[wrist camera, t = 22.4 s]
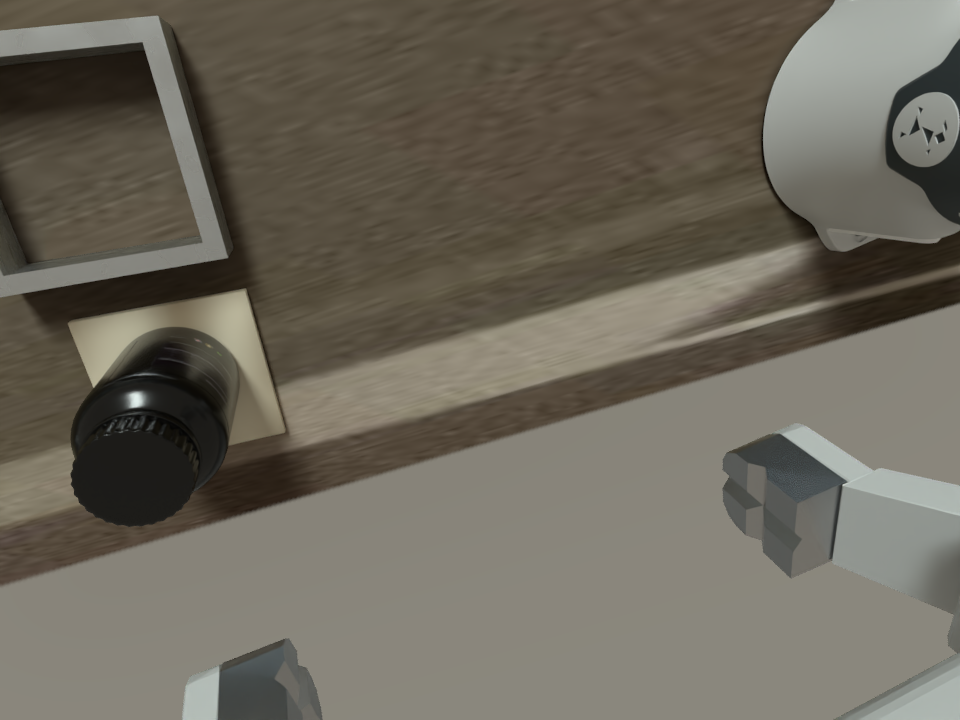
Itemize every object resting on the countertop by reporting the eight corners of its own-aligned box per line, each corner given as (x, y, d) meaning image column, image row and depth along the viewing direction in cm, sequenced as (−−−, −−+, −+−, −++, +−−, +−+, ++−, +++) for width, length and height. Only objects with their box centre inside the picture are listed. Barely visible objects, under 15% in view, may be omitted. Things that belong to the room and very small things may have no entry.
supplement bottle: (201, 447, 39) (161, 572, 28) (93, 391, 36) (2, 507, 25) (265, 363, 38) (250, 458, 27) (160, 299, 35) (95, 377, 24)
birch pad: (245, 288, 37) (245, 290, 36) (285, 428, 40) (285, 432, 40) (71, 320, 35) (67, 323, 34) (129, 464, 38) (126, 469, 38)
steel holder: (170, 25, 31) (158, 15, 28) (233, 247, 36) (228, 257, 33) (-87, 50, 29) (-127, 43, 26) (14, 284, 33) (-11, 299, 31)
